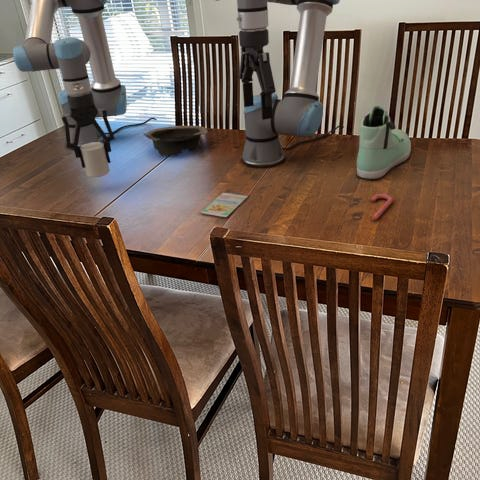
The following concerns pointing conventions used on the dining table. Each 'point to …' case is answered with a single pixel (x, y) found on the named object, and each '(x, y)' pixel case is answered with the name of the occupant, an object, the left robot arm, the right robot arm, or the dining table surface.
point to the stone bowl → (176, 139)
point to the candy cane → (385, 206)
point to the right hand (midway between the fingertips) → (257, 112)
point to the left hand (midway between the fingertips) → (96, 163)
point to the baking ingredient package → (224, 204)
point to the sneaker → (380, 145)
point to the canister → (95, 159)
